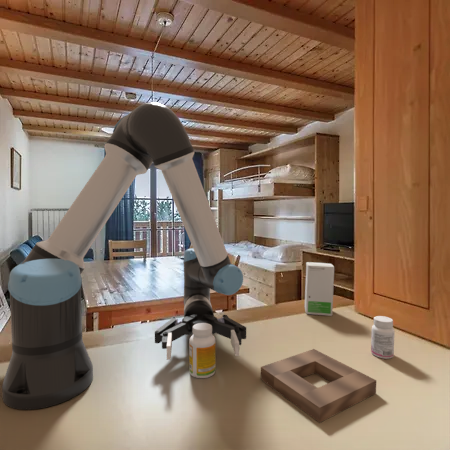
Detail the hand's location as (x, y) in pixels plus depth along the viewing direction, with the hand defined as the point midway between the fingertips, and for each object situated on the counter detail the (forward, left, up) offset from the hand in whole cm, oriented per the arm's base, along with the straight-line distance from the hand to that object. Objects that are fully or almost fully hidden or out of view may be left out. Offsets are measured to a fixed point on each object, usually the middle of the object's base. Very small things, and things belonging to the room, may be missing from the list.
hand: (203, 351), depth 63 cm
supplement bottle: (+1, +3, -6) cm, 7 cm away
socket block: (+17, -13, -6) cm, 22 cm away
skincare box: (+50, +16, -6) cm, 53 cm away
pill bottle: (+40, -12, -6) cm, 43 cm away
